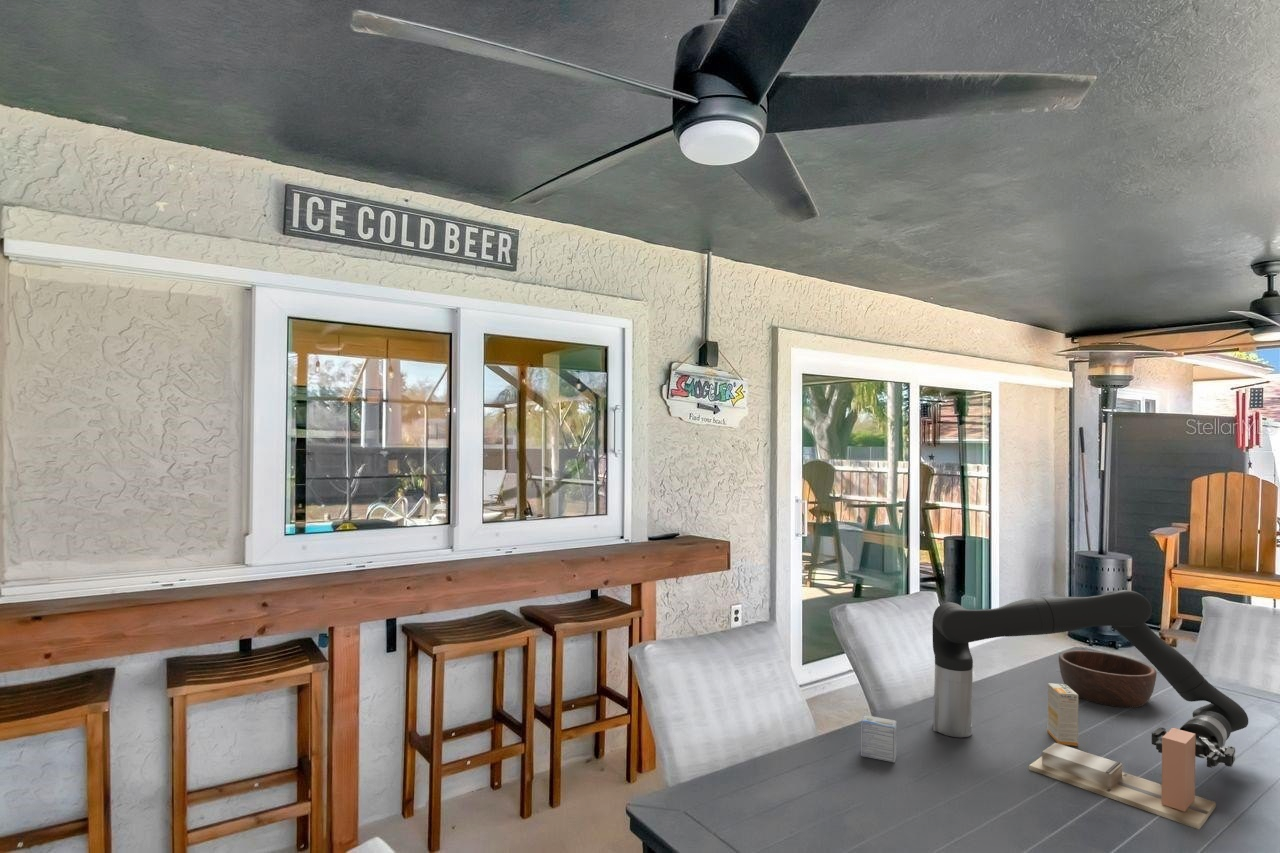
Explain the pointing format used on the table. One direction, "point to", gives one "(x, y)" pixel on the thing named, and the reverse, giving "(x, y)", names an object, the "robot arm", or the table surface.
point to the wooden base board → (1115, 783)
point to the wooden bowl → (1107, 677)
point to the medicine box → (879, 738)
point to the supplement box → (1062, 714)
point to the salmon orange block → (1178, 769)
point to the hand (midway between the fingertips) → (1184, 755)
